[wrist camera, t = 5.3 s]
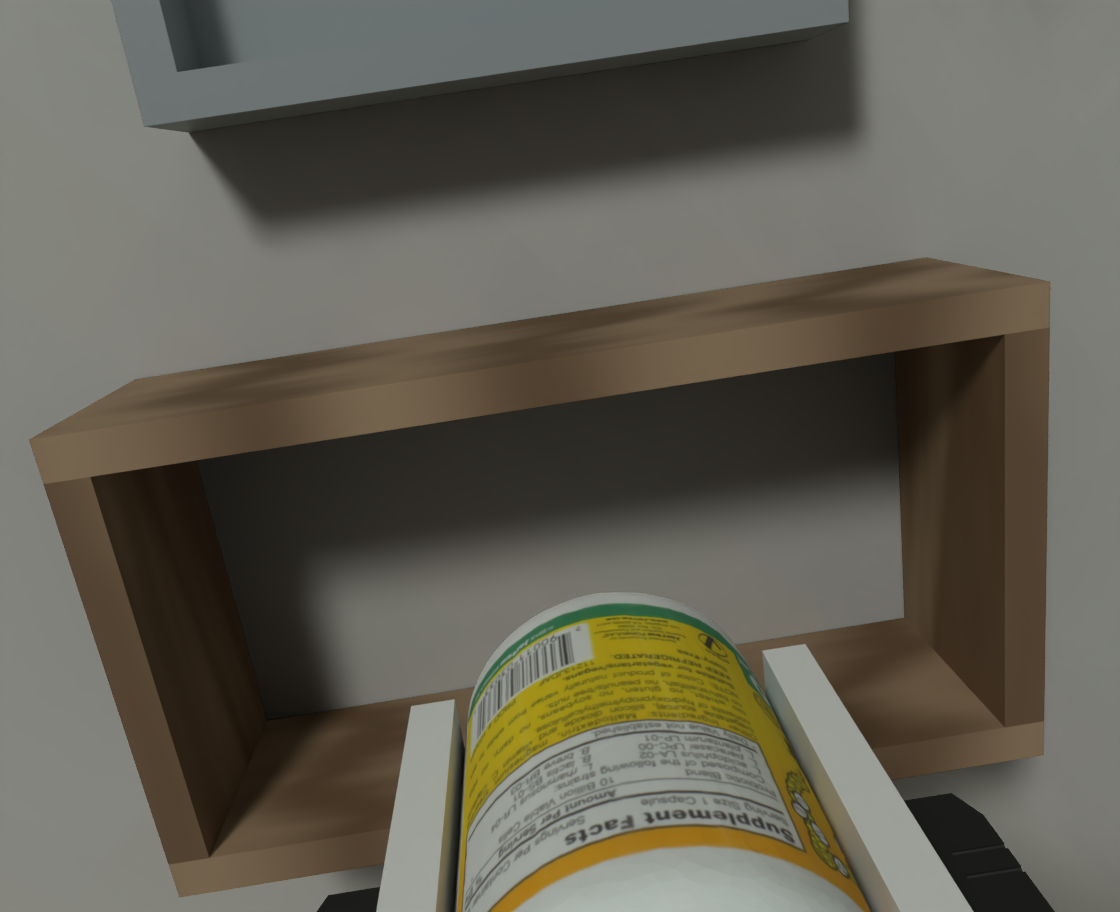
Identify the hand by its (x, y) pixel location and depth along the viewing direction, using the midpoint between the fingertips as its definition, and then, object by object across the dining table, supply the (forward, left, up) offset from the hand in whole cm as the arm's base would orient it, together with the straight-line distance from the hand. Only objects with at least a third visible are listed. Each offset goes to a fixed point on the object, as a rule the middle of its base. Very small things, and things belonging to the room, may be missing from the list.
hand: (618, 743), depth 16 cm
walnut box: (0, 0, -11) cm, 12 cm away
